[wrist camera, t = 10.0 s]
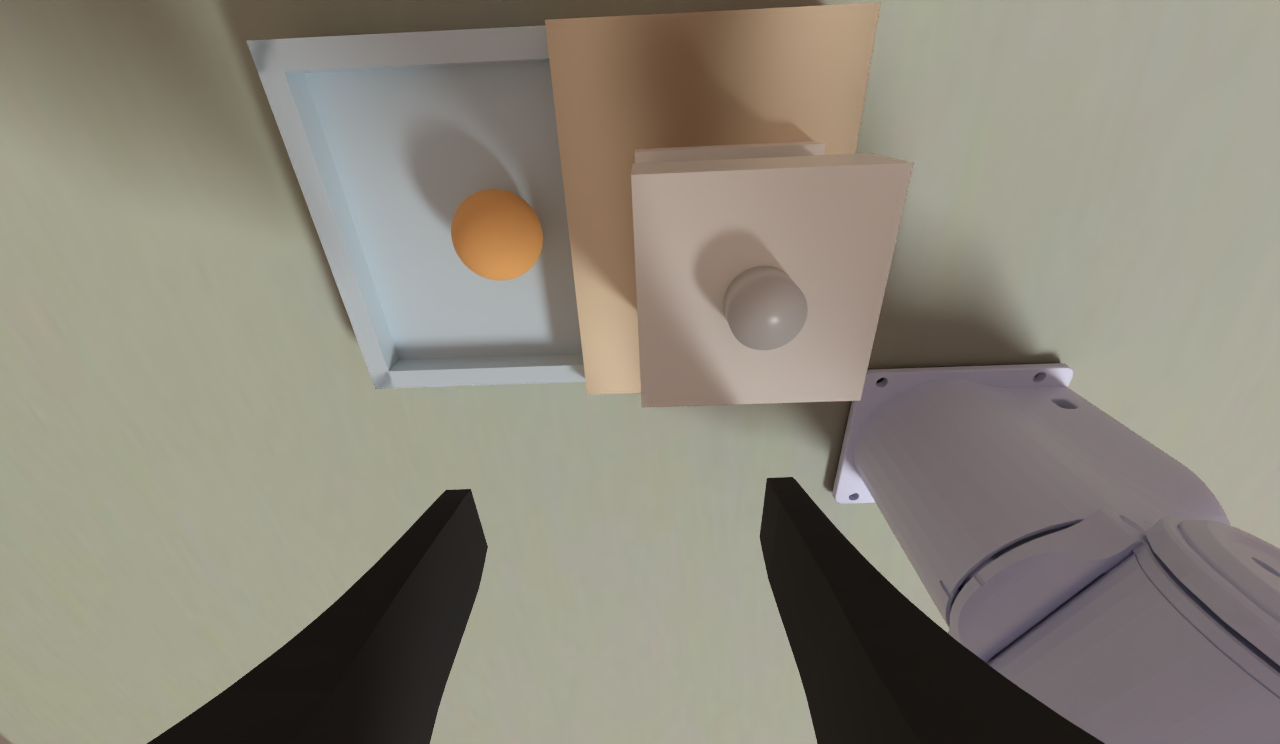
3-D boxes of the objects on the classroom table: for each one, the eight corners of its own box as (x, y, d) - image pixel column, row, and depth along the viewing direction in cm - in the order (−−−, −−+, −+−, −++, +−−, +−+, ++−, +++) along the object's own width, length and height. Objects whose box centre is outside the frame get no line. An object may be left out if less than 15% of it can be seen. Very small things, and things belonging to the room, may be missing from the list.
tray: (561, 33, 15) (550, 25, 14) (593, 358, 21) (589, 381, 20) (290, 47, 16) (246, 40, 14) (396, 365, 22) (375, 388, 20)
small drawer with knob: (814, 141, 14) (936, 167, 8) (793, 308, 17) (874, 419, 11) (635, 149, 14) (630, 180, 8) (641, 314, 17) (641, 426, 11)
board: (840, 19, 15) (880, 2, 13) (794, 352, 21) (816, 387, 18) (561, 33, 15) (544, 19, 13) (593, 358, 21) (587, 394, 19)
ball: (492, 177, 17) (553, 183, 16) (509, 258, 19) (566, 270, 17) (419, 196, 15) (482, 205, 14) (446, 285, 17) (504, 301, 15)
